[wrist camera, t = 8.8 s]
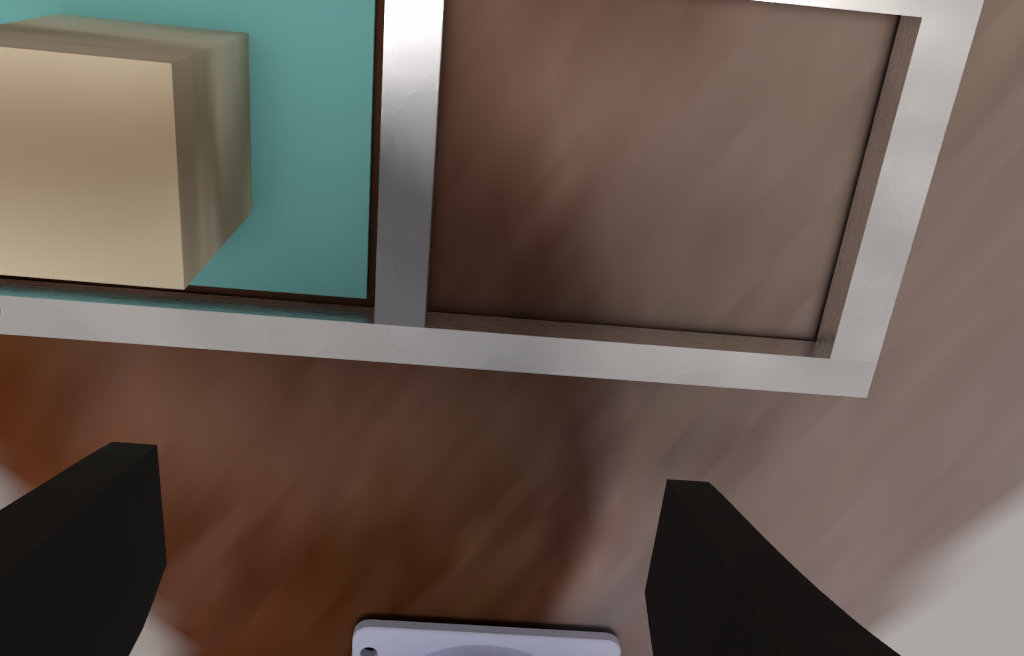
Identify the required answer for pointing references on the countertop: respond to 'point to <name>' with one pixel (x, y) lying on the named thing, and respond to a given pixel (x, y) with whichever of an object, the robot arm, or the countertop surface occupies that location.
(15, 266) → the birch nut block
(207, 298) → the rail frame
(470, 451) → the countertop surface
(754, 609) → the robot arm
